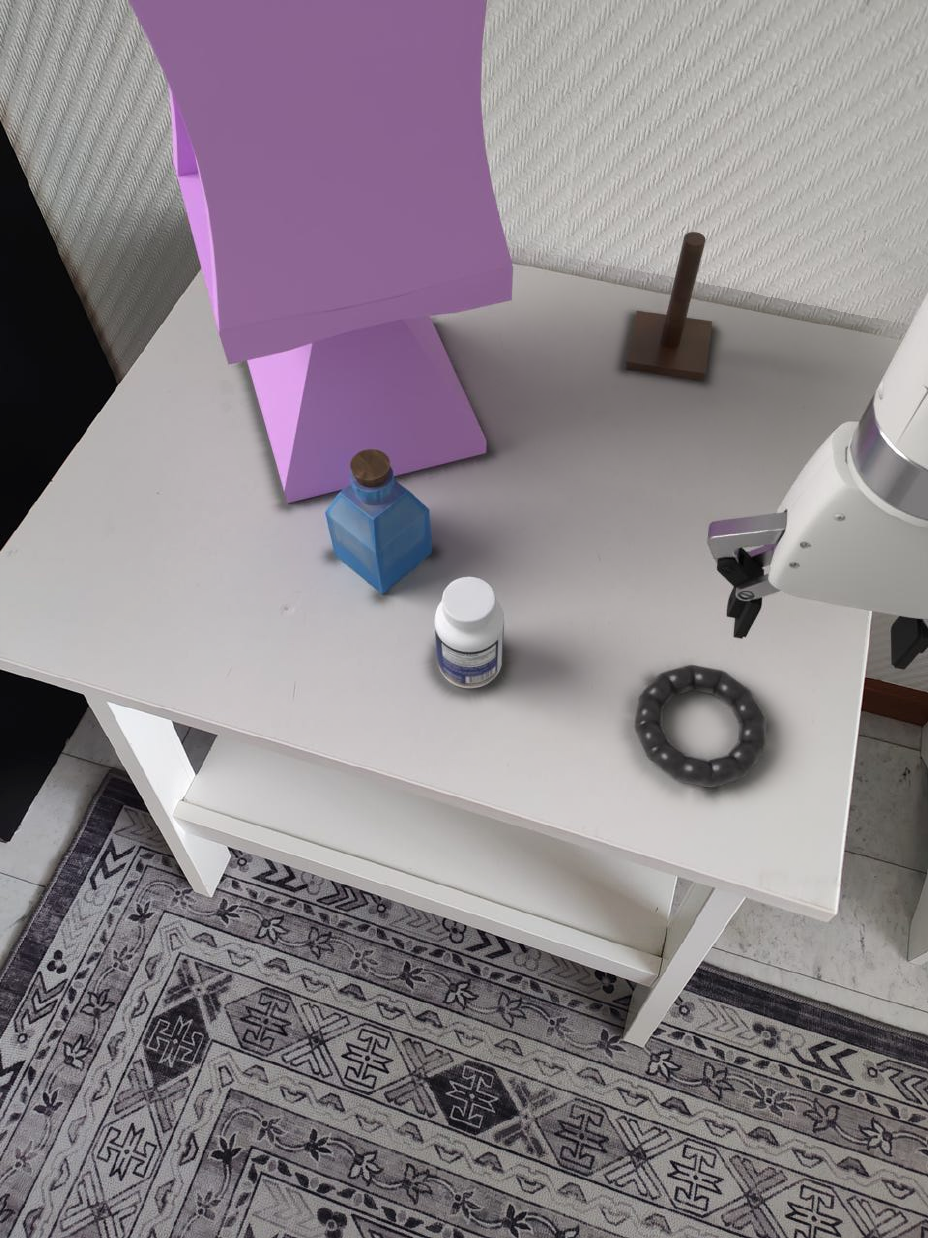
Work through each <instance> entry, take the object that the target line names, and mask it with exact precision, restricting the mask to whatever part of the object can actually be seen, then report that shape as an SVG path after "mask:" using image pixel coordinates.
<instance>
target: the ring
mask: <svg viewBox="0 0 928 1238" xmlns="http://www.w3.org/2000/svg"><path fill="white" fill-rule="evenodd" d="M691 691H695V692H699V693H705V694H711V695H714V696H715V697H716V698H718V699H719V700H720V701H722V702H723V703H724V704H726V705H727V706H729V707H730V709H731V711H732V713H733V715H734V716H735V718H736V720H737V722H738V724H739V725H738V739H737V743H735V745H734V746H733V747H732V748H731V749H730V751H729V752H728V753H727V754H725V755H722V756H719V757H715V758H711V759H705V758H700V757H695V756H689V755H687V754H686V753H684V752H683V751H681V750H680V749H679V748H677V747H676V746H675V745H674V744H673V743H671V742H670V740H669V738H668V736H667V734H666V732H665V730H664V726H663V725H662V720H663V713H664V707H665V706H666V705H667V704H668V703H669V702H670V701H671V700H672V699H673V698H674V696H676V695H677V696H678V695H680V694H683V693H686V692H691ZM637 699H638V700H637V704H636V705H637V707H636V712H635V721H634V729H635V732H636V734H637V737H638V739H639V742H640V744H641V747H642V748H643V750H644V753H645V755H646V757H647V758H648V760H650V761H651V762H652V763H653V764H654V765H656V767H658V768H660V769H661V771H663V772H665V774H667V776H669V777H671V779H674V780H675V781H678V782H682V783H685V784H691V785H695V786H696V785H697V786H699V787H705V788H715V787H718V786H722V785H725V784H729V783H732V782H735V781H738V780H741V779H743V778H745V777H746V776H747V775H748V774H749V773H750V771H751V770H752V769H753V768H754V766H755V765H756V764H758V762H759V760H760V759H761V758H762V757H763V755H764V754H765V751H766V739H767V724H768V723H767V718H766V716H765V713H764V712H763V710H762V708H761V706H760V704H759V703H758V700H757V698H755V695H754V693H753V691H752V690H751V689H750V688H748V687H747V686H745V685H744V684H743V683H742V682H740V681H739V680H737V679H736V678H734V677H733V676H731V674H729V673H728V672H726V671H724V670H722V669H716V668H711V667H707V666H702V665H701V666H700V665H695V664H689V665H684V666H680V667H678V668H674V669H669V670H667V671H663V672H661V673H659V674H658V675H657V676H656V677H655V678H654V679H653V680H652V681H651V682H650V684H648V686H647V687H645V689H644V690H643V691H642V692H641V693H640V694H639V697H638V698H637Z"/></svg>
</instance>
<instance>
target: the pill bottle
mask: <svg viewBox="0 0 928 1238" xmlns="http://www.w3.org/2000/svg"><path fill="white" fill-rule="evenodd" d="M504 615H505V614H504V611H503V608H502V606H501V604H500V603H499V601H498V599H496V594H495V591H494V589H493V588H492V586H491V585H490V584H489V583H488V582H487V581H485V580H484V579H482V578H480V577H474V576H463V577H459V578H457V579H454V580H453V581H451V582H449V584H448V585H447V586H445V589H444V590H443V593H442V597H441V600H440V602H439V603H438V605H437V608H436V610H435V613H434V635H435V645H436V657H437V663H438V668H439V671H440V672H441V674H442V676H443V677H444V678H445V680H447V681H448V682H450V683H451V684H453V685H454V686H457V687H460V688H464V689H477V688H481V687H484V686H486V685H489V684H490V683H491V682H493V680H494V679H496V677H497V676H498V674H499V673H500V671H501V668H502V665H503V657H504V634H505V633H504V632H505V616H504Z"/></svg>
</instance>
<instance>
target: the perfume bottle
mask: <svg viewBox="0 0 928 1238" xmlns="http://www.w3.org/2000/svg"><path fill="white" fill-rule="evenodd" d="M350 469H351V472H350V481H351V484H350V485H349V486H347V487H346V488H345V489H343V490H340V491H339V493H338V494H337V495H336V496H335V498H334V499H333V500H332V501H331V503H330V505H328V507H327V509H326V510H325V511H324V515H325V518H326V523H327V528H328V532H329V536H330V540H331V544H332V549H333V554H334V556H335V557H337V558H338V559H339V560H340V561H341V562H342V563H344V564H345V565H346V566H347V567H348V568H349V569H351V570H352V571H353V572H354V573H356V574H357V575H358V576H359V577H361V578H362V580H364V581H365V582H366V583H367V584H369V586H371V587H372V588H374V589H375V590H376V591H377V592H378V593H380V594H381V595H382V596H383V595H384V594H385V593H387V592H388V591H389V590H390V589H391V588H392V587H394V586H395V585H396V584H398V582H399V581H401V580H402V579H403V578H405V576H407V575H408V574H409V573H410V572H411V571H413V570H414V569H415V568H416V567H417V566H418V565H419V564H421V563H422V562H423V561H424V560H425V559H426V558H428V557H429V556H430V555H432V554H433V542H432V541H433V540H432V529H431V528H432V527H431V512H430V508H428V506H426V504H424V503H423V502H422V500H420V499H419V498H418V497H416V495H414V494H413V493H412V492H411V491H410V490H409V489H408V488H406V487H405V486H403V485H402V484H401V483H399V482H398V481H397V480H395V476H394V474H393V470H392V467H391V466H390V460H389V457H388V456H387V455H386V454H385V453H384V452H382V451H380V450H376V449H367V450H363V451H360V452H359V453H357V454H356V455H355V456H354V457H353V458H352V460H351V462H350Z"/></svg>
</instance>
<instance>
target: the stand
mask: <svg viewBox="0 0 928 1238" xmlns="http://www.w3.org/2000/svg"><path fill="white" fill-rule="evenodd" d="M706 241H707V239H706V236H705V235H704V234H702V233H700V232H697V231H690V232H687V233H685V234H684V235H683V240H682V244H681V248H680V252H679V257H678V262H677V265H676V270H675V274H674V275H675V276H674V279H673V284H672V288H671V292H670V293H671V294H670V297H669V301H668V305H667V310H666V314H665V313H657V312H650V311H644V310H636V312H635V318H634V324H633V328H632V333H631V338H630V344H629V349H628V353H627V359H626V364H625V369H626V370H630V371H631V370H632V371H637V372H643V373H652V374H656V375H663V376H671V377H678V378H683V379H690V380H697V381H705V377H706V373H707V367H708V359H709V351H710V344H711V335H712V328H713V327H712V326H713V320H706V319H699V318H692V317H687V316H688V312H689V309H690V304H691V300H692V298H693V297H692V296H693V292H694V289H695V284H696V281H697V276H698V272H699V269H700V265H701V261H702V257H703V252H704V249H705V244H706Z"/></svg>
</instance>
